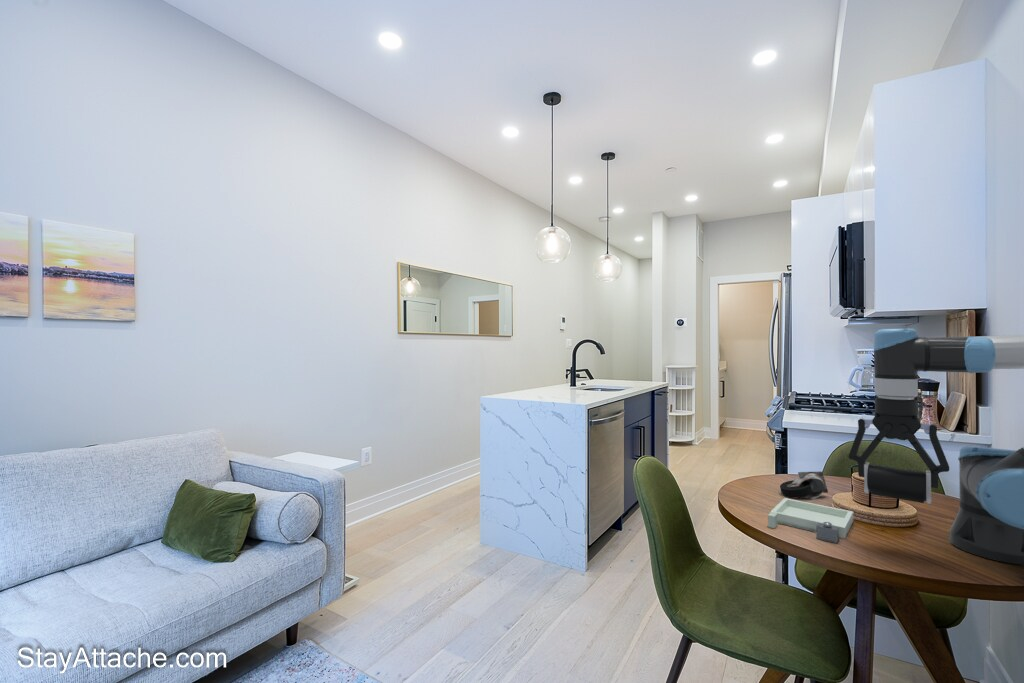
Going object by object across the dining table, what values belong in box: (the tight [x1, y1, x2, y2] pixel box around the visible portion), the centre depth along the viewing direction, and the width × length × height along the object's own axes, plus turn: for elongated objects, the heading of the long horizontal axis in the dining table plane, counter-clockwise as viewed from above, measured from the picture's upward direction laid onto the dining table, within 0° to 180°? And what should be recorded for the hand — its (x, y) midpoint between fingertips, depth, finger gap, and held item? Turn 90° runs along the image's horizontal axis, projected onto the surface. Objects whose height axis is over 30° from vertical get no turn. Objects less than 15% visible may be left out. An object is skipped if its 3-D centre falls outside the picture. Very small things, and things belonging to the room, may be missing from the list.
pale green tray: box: [767, 497, 854, 540], centre depth 122 cm, size 16×20×3 cm
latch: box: [815, 522, 840, 544], centre depth 112 cm, size 4×3×4 cm
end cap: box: [867, 464, 926, 504], centre depth 106 cm, size 10×7×7 cm
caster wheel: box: [779, 470, 829, 500], centre depth 144 cm, size 7×11×10 cm
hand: (896, 496), depth 106 cm, fingers closed on end cap, 10 cm apart
